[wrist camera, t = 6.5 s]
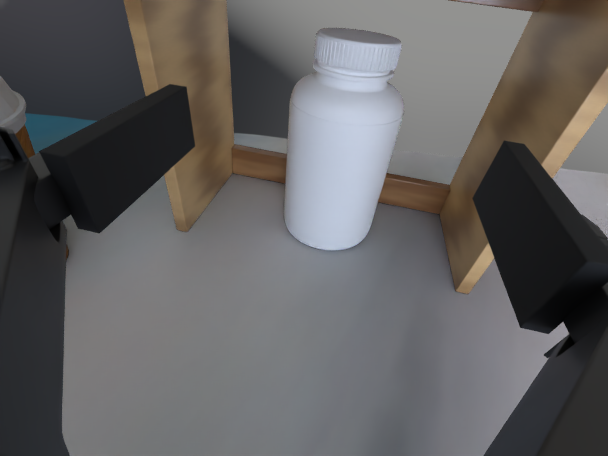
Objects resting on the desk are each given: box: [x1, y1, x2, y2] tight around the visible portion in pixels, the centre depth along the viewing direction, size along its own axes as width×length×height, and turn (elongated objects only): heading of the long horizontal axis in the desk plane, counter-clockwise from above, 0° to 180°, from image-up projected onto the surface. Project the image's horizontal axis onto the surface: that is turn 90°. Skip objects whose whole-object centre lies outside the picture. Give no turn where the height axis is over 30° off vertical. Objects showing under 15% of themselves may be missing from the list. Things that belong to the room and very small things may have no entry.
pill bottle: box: [284, 28, 404, 250], centre depth 24 cm, size 8×8×15 cm
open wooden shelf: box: [124, 0, 608, 294], centre depth 22 cm, size 11×24×21 cm, turn 78°
